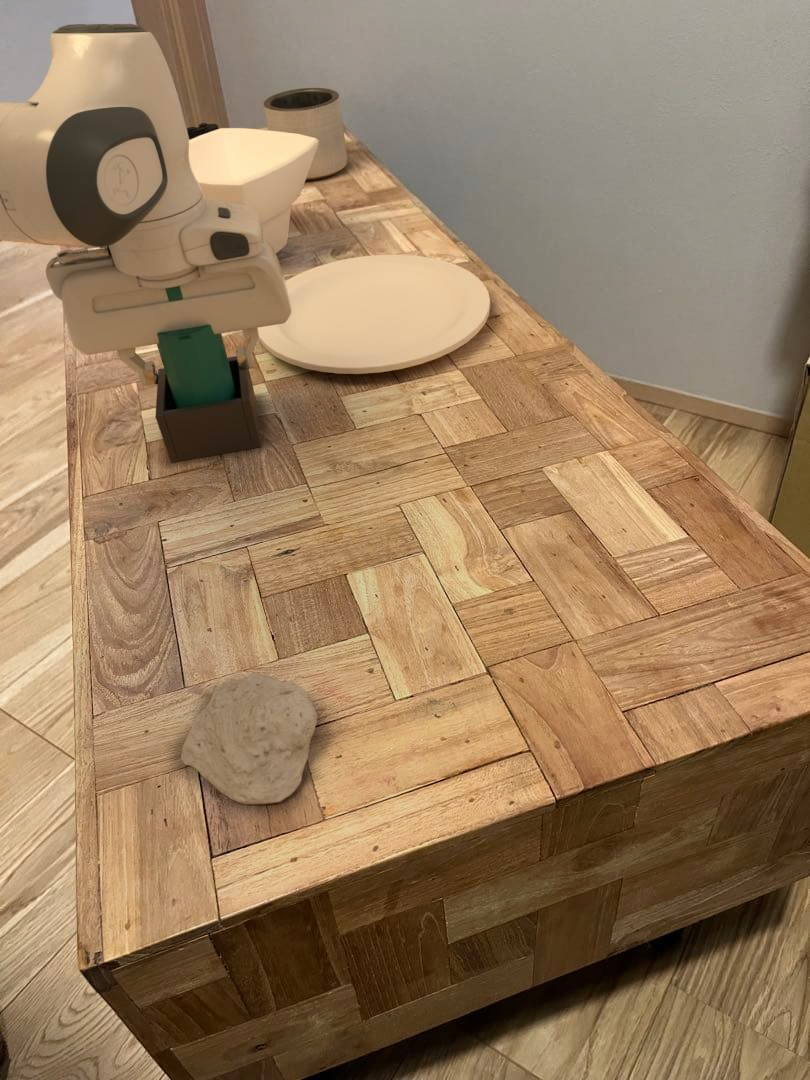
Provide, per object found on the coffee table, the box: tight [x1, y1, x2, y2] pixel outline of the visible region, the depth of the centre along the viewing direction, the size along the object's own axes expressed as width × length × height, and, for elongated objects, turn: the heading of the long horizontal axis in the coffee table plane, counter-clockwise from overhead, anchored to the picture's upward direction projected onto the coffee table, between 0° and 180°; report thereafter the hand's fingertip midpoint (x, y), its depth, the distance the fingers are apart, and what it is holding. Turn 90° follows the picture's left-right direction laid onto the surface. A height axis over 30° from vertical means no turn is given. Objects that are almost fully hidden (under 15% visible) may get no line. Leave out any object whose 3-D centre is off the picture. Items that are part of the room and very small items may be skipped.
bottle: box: [156, 286, 238, 409], centre depth 79 cm, size 6×6×16 cm
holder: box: [154, 355, 262, 464], centre depth 83 cm, size 9×9×6 cm
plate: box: [258, 254, 491, 375], centre depth 99 cm, size 28×28×2 cm
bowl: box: [189, 127, 319, 255], centre depth 112 cm, size 19×19×14 cm
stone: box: [180, 672, 318, 805], centre depth 56 cm, size 10×5×10 cm
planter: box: [263, 87, 348, 182], centre depth 137 cm, size 12×12×11 cm
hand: (199, 374), depth 81 cm, fingers open, 8 cm apart
